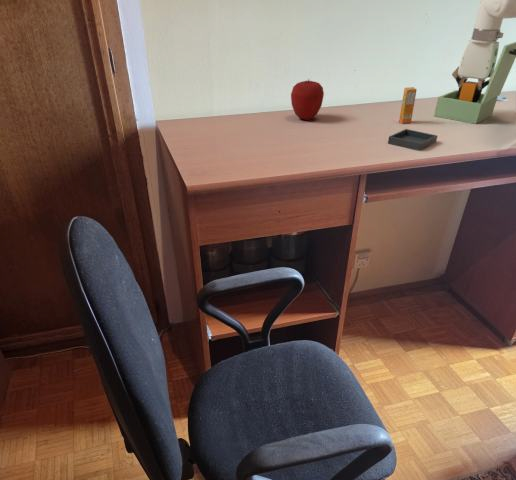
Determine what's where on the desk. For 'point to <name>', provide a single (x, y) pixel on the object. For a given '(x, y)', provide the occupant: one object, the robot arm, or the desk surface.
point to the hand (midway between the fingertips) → (467, 100)
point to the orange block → (468, 91)
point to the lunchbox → (463, 108)
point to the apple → (307, 99)
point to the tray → (412, 139)
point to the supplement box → (407, 105)
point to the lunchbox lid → (500, 72)
